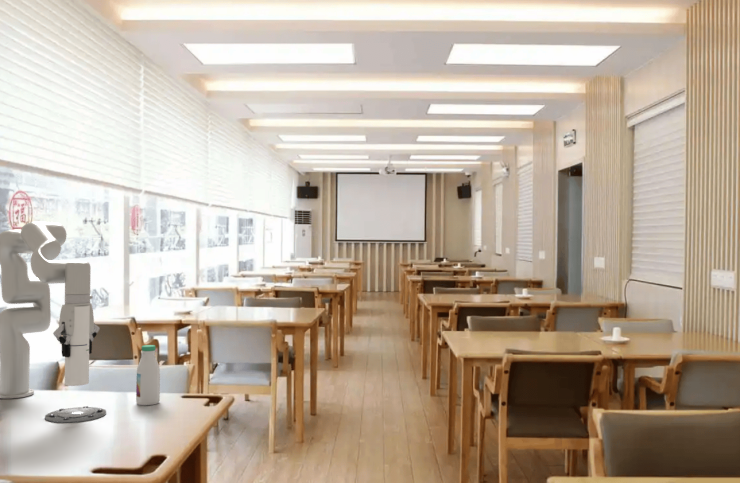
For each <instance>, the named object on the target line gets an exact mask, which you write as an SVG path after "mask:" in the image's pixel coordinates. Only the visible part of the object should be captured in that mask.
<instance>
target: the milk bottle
mask: <svg viewBox="0 0 740 483" xmlns="http://www.w3.org/2000/svg"><path fill="white" fill-rule="evenodd" d="M159 365H160V364H159V363H158V360H157V358H156V345H155V344H146V345H141V358H140V361H139V363H138V365H137V368H136V392H135V393H136V394H135V395H136V398H135V399H136V400H135V402H136V404H137V405H139V406H153V405H156V404H159V403H160V399H161V398H160V397H161V392H160V391H161V387H160V386H161V384H160V380H161V373H160V372H161V371H160V366H159Z"/></svg>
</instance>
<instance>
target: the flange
mask: <svg viewBox="0 0 740 483" xmlns="http://www.w3.org/2000/svg"><path fill="white" fill-rule="evenodd" d="M106 415H107V410H106V409H104V408H101V407H96V406H94V407H93V406H88V405H87V406H79V407H78V406H77V407H68V408H59V409H57V410H54V411H51V412H47V413H46V414H45V416H44V419H45V420H46V421H47V422H49V423H50V422H51V423H57V424H72V423H73V424H74V423H82V422H88V421H94V420H99V419H100V418H103V417H105V416H106Z"/></svg>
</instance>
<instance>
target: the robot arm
mask: <svg viewBox="0 0 740 483" xmlns="http://www.w3.org/2000/svg"><path fill="white" fill-rule="evenodd" d="M66 241H67V230H66V228H65V226H63V225H62V224H61V223H59V222H53V221H51V222H50V221H48V222H47V221H30V222H28V223H25V224H24V225H23V226H22V228H21V229H8V230H4V231H1V232H0V268H1V269H0V270H1V271H0V273H1V274H0V275H1V277H0V278H1V281H0V282H1V297H2V301H3V302H4V303H6V304H8V305H9V304H10V305H21V304H33V306H23V307H22V306H21V307H10V308H9V307H8V308H6V309H3V310H2V311H1V312H0V399H4V400H5V399H20V398H25V397H29V396H32V395H34V394H35V390H34V389H31V388H30V365H31V364H30V359H31V358H30V356H31V353H30V352H31V351H30V347H31V346H30V343H29V341H28V340H27V339H26V338H25V336H24V334H31V333H32V334H33V333H41V332H45V331H47V330H48V329H49V328H50V325H51V290H50V285H51V284H64V303H63V304H62V306H61V309H60V311H59V321H58V327H57V328H56V329H55V330H54V331H53V333H52V334H53V336H54V338H56V340H57V341H58V342H59V344H60V345H61V356H62V357H63V358H65V357H70V344H68V343H69V341H70V339H71V336H72V335H73V332H74V321H75V309H74V307H77V306H89V305H90V319H89V355H91V354H92V353H93V352H92V350H93V342H94V339H95V337H96V336H97V334H98V333H99V332H100V329H101V328H100V326H98V325H97V324H96V323H95V319H94V308H93V305H92V303H91V300H93V295H92V294H91V264H90V262H88V261H81V260H73V259H71V260H65V259H63V260H62V259H61V260H60V259H59V260H58V259H57V260H55V259H56V258H57V257H58V256H59V255H60V253H61V250H62V246H63V245H64V244H65V242H66ZM21 254H32V255H31V257H30V268H31V272H32V273H33V274H34V275H35V277H34V276H33V277H31V276H30V277H29V274H28V263H27V262H26V260H25V259H24V258H23V256H21ZM49 284H50V285H49ZM66 337H67V338H66Z"/></svg>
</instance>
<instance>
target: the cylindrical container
mask: <svg viewBox="0 0 740 483" xmlns="http://www.w3.org/2000/svg"><path fill="white" fill-rule="evenodd" d="M74 309H75V321H74V332H73V335H72V336H71V339H70V341H69V343H68V344H70V357H64V385H65V386H67V387H69V386H70V387H80V386H85V385H88V384H89V382H90V354H89V319H90V305H89V306H77V307H74ZM66 338H67V337H66Z"/></svg>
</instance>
